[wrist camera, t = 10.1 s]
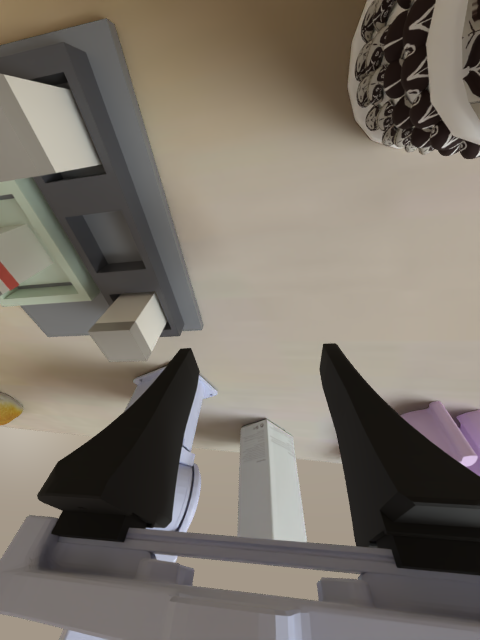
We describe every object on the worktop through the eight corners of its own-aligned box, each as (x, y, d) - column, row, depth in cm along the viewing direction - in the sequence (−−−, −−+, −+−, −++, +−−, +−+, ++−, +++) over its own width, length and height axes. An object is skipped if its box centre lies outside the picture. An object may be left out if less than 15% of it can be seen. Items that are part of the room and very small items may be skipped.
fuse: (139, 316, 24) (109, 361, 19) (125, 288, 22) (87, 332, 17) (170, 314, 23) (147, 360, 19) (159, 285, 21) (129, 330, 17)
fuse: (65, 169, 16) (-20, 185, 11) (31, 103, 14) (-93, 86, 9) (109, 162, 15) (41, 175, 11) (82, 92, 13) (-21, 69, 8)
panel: (52, 332, 28) (36, 347, 26) (-155, 91, 15) (-222, 84, 13) (203, 325, 25) (198, 341, 23) (114, 24, 12) (84, 2, 10)
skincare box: (240, 426, 39) (231, 546, 28) (268, 416, 37) (271, 546, 25) (269, 444, 43) (271, 557, 32) (296, 437, 40) (310, 557, 29)
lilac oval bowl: (405, 462, 44) (425, 508, 39) (345, 452, 43) (356, 497, 38) (501, 411, 31) (550, 468, 26) (418, 395, 31) (451, 451, 25)
